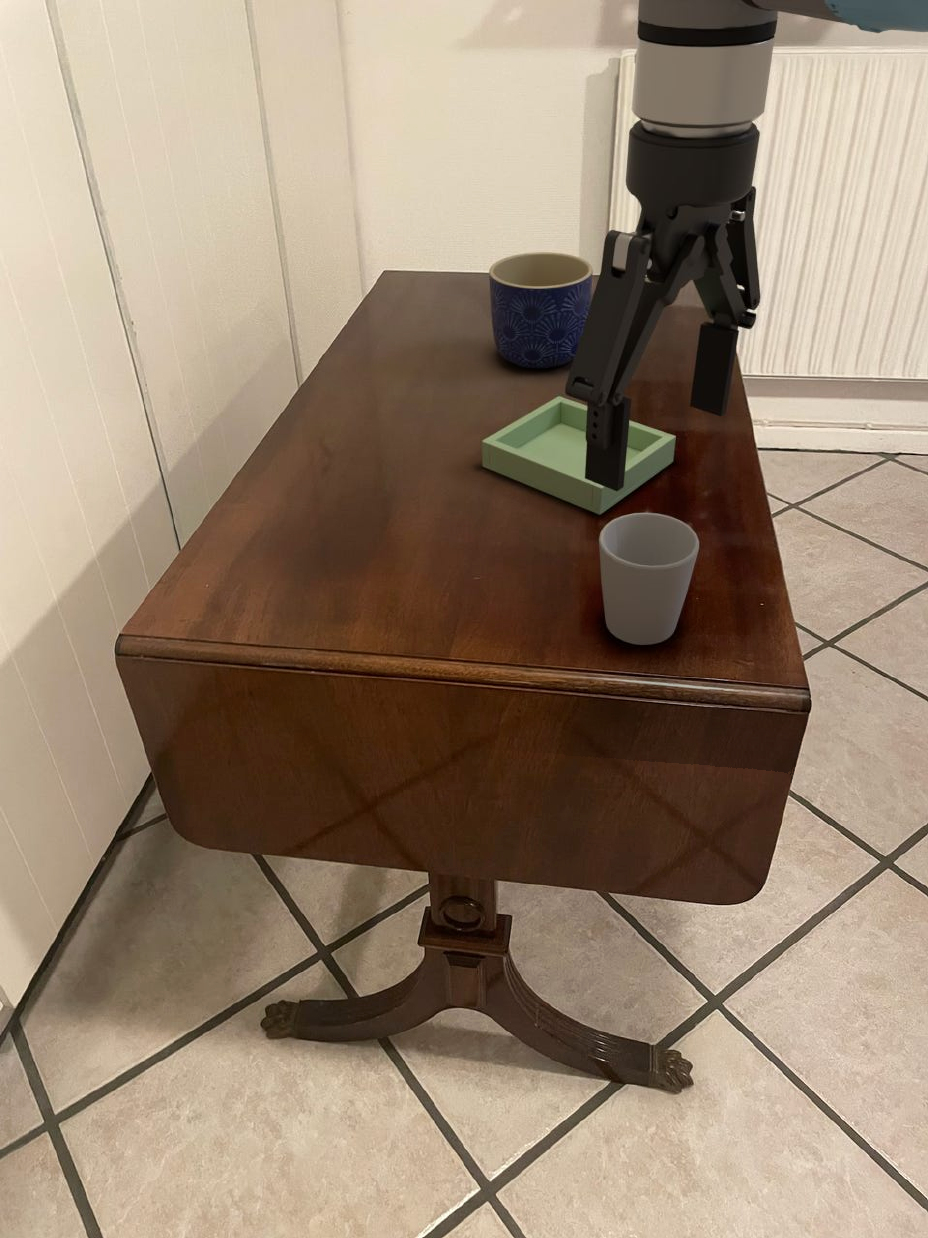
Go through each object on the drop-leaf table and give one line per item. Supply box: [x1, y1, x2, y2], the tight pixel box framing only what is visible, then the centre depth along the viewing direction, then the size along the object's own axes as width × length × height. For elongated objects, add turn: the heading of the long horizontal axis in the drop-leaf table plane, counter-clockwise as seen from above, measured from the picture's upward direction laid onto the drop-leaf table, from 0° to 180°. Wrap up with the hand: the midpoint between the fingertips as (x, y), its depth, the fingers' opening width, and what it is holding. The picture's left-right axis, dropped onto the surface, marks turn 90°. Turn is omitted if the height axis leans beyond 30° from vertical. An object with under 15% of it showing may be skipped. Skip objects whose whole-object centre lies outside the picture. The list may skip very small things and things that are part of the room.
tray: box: [481, 395, 677, 515], centre depth 98 cm, size 15×13×3 cm
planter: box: [488, 251, 594, 369], centre depth 117 cm, size 12×12×11 cm
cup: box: [598, 512, 700, 646], centre depth 77 cm, size 8×10×8 cm
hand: (658, 444), depth 69 cm, fingers open, 13 cm apart
